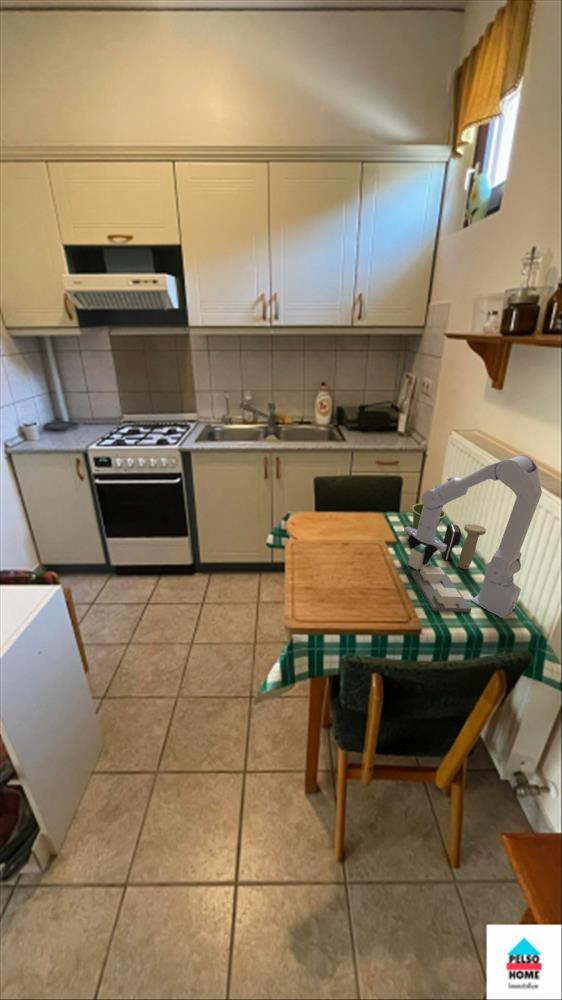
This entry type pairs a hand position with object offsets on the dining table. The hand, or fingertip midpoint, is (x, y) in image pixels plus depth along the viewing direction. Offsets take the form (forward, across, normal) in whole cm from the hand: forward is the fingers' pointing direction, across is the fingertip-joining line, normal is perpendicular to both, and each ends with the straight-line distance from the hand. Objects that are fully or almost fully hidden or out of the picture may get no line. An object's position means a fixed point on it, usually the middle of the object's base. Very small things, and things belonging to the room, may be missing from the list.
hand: (419, 560), depth 139 cm
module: (+2, 0, 0) cm, 2 cm away
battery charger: (+2, -2, -14) cm, 15 cm away
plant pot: (+2, +10, -18) cm, 21 cm away
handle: (+2, -10, -12) cm, 16 cm away
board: (+2, -12, +8) cm, 15 cm away
